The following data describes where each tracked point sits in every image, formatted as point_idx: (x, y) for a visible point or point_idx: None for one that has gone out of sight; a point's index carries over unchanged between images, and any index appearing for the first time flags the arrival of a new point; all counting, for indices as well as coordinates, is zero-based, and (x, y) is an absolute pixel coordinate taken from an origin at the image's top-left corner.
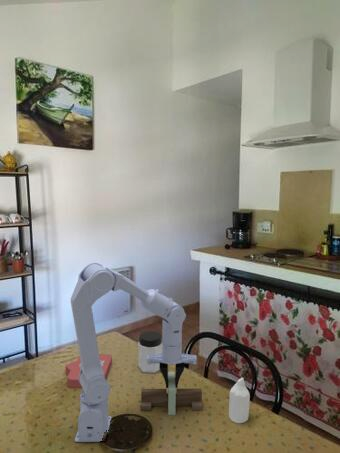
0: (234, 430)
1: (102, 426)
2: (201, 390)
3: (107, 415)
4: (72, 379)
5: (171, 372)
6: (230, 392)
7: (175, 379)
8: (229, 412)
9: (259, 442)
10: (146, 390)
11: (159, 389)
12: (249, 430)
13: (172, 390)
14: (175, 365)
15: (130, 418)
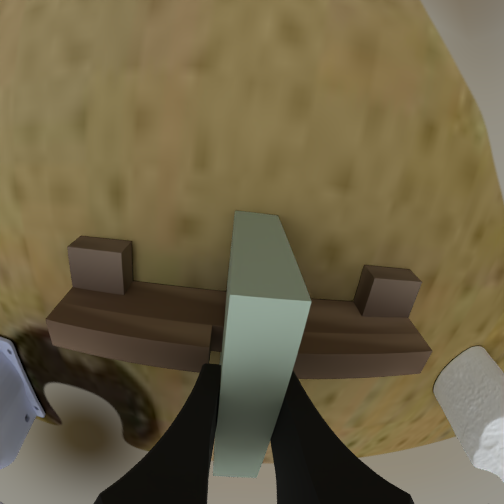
0: (412, 417)
1: (22, 435)
2: (422, 366)
3: (7, 406)
4: None
5: (271, 311)
6: (475, 450)
7: (277, 447)
8: (444, 392)
9: (432, 435)
10: (76, 342)
11: (157, 348)
12: (443, 411)
13: (236, 476)
14: (310, 498)
15: (68, 357)
